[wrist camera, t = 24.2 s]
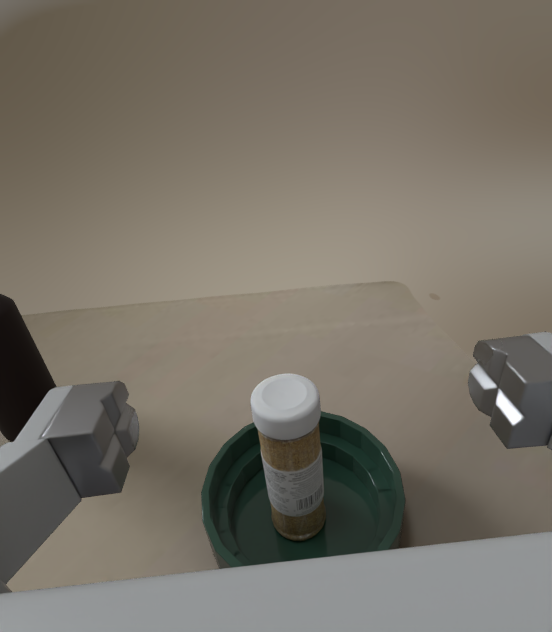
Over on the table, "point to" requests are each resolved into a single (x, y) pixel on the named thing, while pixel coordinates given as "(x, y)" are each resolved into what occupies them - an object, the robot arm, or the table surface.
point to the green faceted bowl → (339, 498)
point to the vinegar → (19, 372)
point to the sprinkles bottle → (291, 453)
